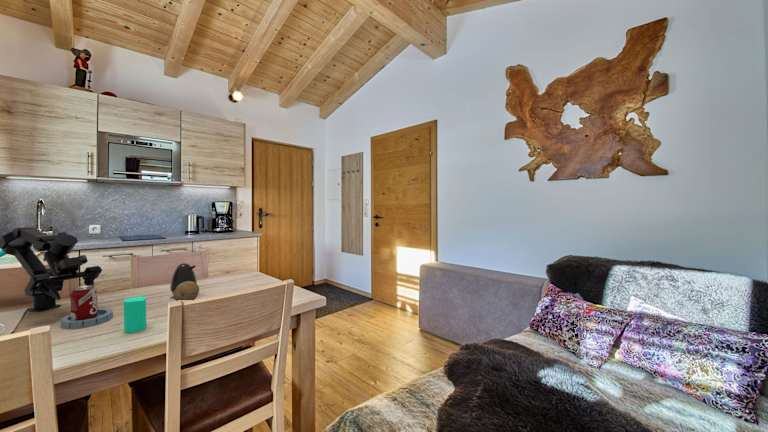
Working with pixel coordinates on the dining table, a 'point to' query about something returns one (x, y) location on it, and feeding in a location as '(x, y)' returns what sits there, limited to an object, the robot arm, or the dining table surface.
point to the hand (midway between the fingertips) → (76, 295)
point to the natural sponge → (186, 291)
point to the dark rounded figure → (182, 275)
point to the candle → (134, 314)
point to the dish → (101, 318)
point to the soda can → (84, 303)
